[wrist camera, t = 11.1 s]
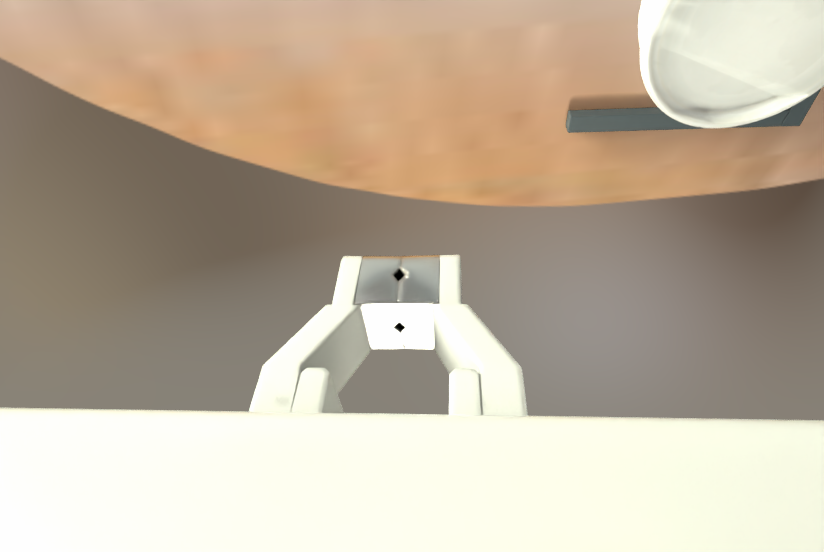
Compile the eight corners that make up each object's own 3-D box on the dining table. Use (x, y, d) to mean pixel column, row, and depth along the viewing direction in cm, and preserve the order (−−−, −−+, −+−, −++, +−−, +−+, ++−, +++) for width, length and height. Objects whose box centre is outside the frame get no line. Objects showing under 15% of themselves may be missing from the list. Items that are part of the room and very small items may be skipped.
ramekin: (617, 106, 32) (638, 148, 29) (623, -90, 25) (653, -65, 21) (806, 64, 30) (855, 105, 26) (879, -170, 22) (962, -157, 18)
